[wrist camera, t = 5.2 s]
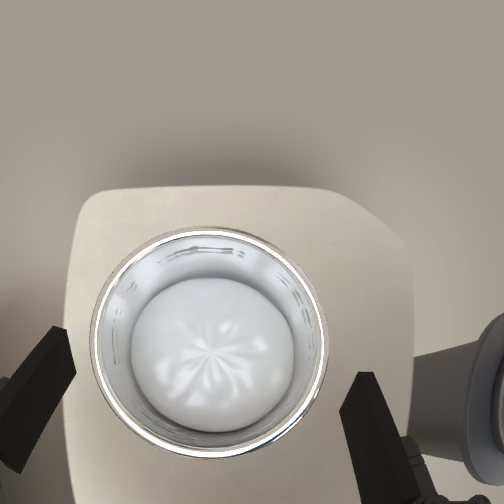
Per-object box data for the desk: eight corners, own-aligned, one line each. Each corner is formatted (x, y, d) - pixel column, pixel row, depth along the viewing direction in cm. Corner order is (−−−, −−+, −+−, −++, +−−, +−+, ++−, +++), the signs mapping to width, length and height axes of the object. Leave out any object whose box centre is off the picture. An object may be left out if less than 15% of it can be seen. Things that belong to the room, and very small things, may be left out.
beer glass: (254, 420, 20) (314, 482, 6) (159, 400, 20) (60, 422, 6) (271, 330, 23) (346, 245, 9) (179, 310, 23) (125, 200, 9)
